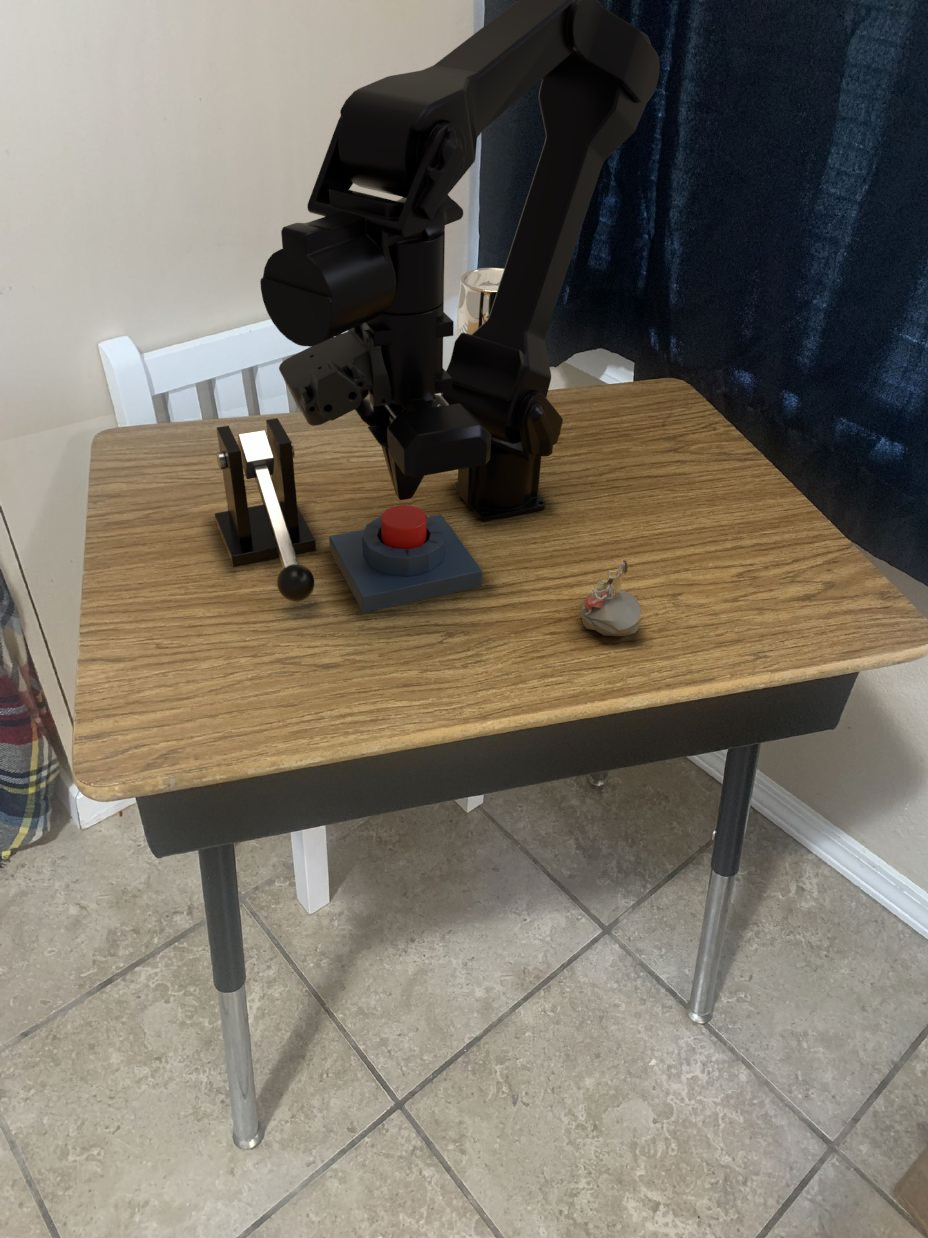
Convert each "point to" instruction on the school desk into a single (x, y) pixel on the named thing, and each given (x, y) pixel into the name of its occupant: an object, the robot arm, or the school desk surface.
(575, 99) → the robot arm
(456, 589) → the button block
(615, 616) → the figurine
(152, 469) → the school desk surface
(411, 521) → the red button
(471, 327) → the silver metal tumbler
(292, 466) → the lever bracket
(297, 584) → the lever handle
